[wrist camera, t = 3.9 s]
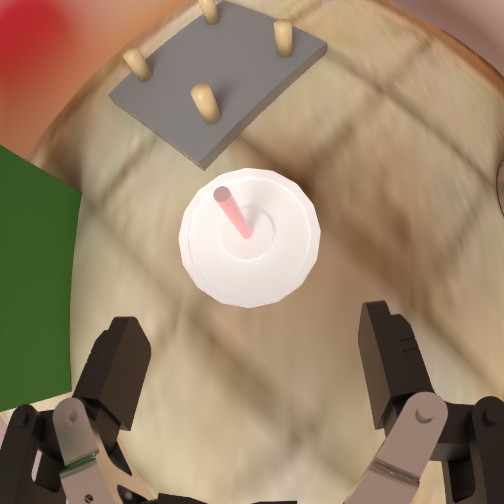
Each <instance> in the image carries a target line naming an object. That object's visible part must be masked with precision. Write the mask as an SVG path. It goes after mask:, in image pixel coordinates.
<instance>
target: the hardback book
mask: <svg viewBox="0 0 504 504" xmlns="http://www.w3.org/2000/svg"><path fill="white" fill-rule="evenodd" d="M81 195H82V193H81V192H80V191H78V190H76V189H74V188H73V187H71V186H69V185H67V184H66V183H64V182H62V181H60V180H59V179H57V178H55V177H54V176H52V175H50V174H48V173H47V172H45V171H43V170H42V169H40V168H38V167H36V166H35V165H33V164H31V163H30V162H28V161H26V160H25V159H23V158H21V157H20V156H18V155H16V154H14V153H13V152H11V151H10V150H8V149H6V148H5V147H3V146H1V145H0V412H2V411H6V410H9V409H13V408H17V407H19V406H21V405H23V404H31V403H35V402H38V401H42V400H45V399H48V398H52V397H55V396H58V395H62V394H65V393H68V392H71V391H72V389H71V373H70V294H71V277H72V264H73V254H74V244H75V235H76V228H77V220H78V213H79V207H80V201H81Z"/></svg>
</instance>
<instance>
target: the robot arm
mask: <svg viewBox="0 0 504 504" xmlns="http://www.w3.org/2000/svg"><path fill="white" fill-rule="evenodd" d="M497 189H498V196H499V201H500V205H501V208H502V211H503V214H504V161H503V162H502V163H501V166H500V168H499V172H498V177H497ZM358 343H359V350H360V354H361V359H362V363H363V368H364V373H365V378H366V383H367V388H368V393H369V398H370V404H371V409H372V415H373V420H374V426H375V430H376V429H381V428H384V430H385V436H386V438H385V440H384V442H383V444H382V445H381V447H380V449H379V450H378V452H377V454H376V455H375V457H374V458H373V460H372V462H371V463H370V465H369V466H368V468H367V469H366V471H365V472H364V474H363V476H362V477H361V479H360V480H359V481H358V483H357V484H356V486H355V487H354V489H353V490H352V491H351V493H350V494H349V495H348V497H347V498H346V500H345V501H344V502H343V504H410V503H411V501H412V499H413V497H414V496H415V494H416V492H417V490H418V487H419V484H420V482H419V480H420V477H421V475H422V473H423V471H424V469H425V467H426V465H427V463H428V461H429V460H431V461H441V462H442V469H443V477H444V485H445V494H446V504H504V402H503V401H502V400H500V399H499V398H497V397H493V396H488V397H484V398H482V399H480V400H479V401H478V402H477V403H476V404H475V405H465V404H452V403H448V402H446V401H444V400H443V399H442V398H441V397H440V396H438V395H437V394H436V393H435V392H434V390H433V388H432V385H431V382H430V379H429V376H428V373H427V370H426V367H425V364H424V361H423V358H422V355H421V352H420V350H419V347H418V344H417V341H416V340H415V336H414V333H413V331H412V328H411V325H410V324H409V323H408V322H407V320H406V319H405V318H404V317H403V316H402V315H401V314H396V315H391V314H390V311H389V309H388V306H387V303H386V302H385V301H375V302H367V303H363V305H362V311H361V318H360V325H359V331H358ZM150 358H151V346H150V343H149V341H148V339H147V337H146V335H145V333H144V332H143V330H142V328H141V326H140V324H139V322H138V320H137V319H136V318H135V317H115V318H114V319H113V320H112V322H111V325H110V327H109V329H108V330H104V332H103V333H102V334H101V335H100V336H99V337H98V338H97V339H96V341H95V343H94V345H93V348H92V350H91V354H90V355H89V357H88V359H87V363H86V364H85V366H84V369H83V371H82V374H81V376H80V379H79V381H78V384H77V386H76V389H75V391H74V394H73V396H72V398H67V399H64V400H63V401H61V402H60V403H59V404H58V405H57V406H56V408H55V409H54V410H47V411H40V412H38V411H37V410H36V409H35V408H34V407H33V406H31V405H29V404H23V405H21V406H19V407H18V408H16V409H15V411H14V412H13V414H12V416H11V419H10V422H9V425H8V428H7V431H6V434H5V437H4V440H3V443H2V446H1V449H0V504H66V499H67V500H68V502H69V504H207V503H204V502H201V501H199V500H196V499H193V498H190V497H182V496H175V495H168V494H162V493H159V494H158V499H154V497H153V495H152V494H151V492H150V491H149V489H148V488H147V487H146V486H145V485H144V484H143V482H142V481H141V480H140V479H139V477H138V476H137V474H136V472H135V470H134V468H133V466H132V464H131V462H130V460H129V457H128V455H127V453H126V451H125V449H124V447H123V444H122V442H121V440H120V438H119V437H118V433H119V430H126V431H130V430H131V426H132V423H133V419H134V415H135V411H136V407H137V404H138V400H139V396H140V393H141V389H142V386H143V382H144V379H145V375H146V372H147V368H148V365H149V361H150ZM37 450H39V451H40V452H42V456H41V460H40V463H39V467H38V472H37V476H36V480H35V482H34V481H33V480H32V476H31V473H32V469H33V465H34V461H35V457H36V454H37ZM252 504H297V501H275V502H257V503H252Z"/></svg>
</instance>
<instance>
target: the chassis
mask: <svg viewBox="0 0 504 504" xmlns="http://www.w3.org/2000/svg"><path fill="white" fill-rule="evenodd" d="M199 3H200V6H201V9H202V12H203V14H202V15H201V16H200V17H198V18H197V19H195V20H194V21H193V22H191V23H190V24H189V25H187V26H186V27H185V28H183V29H182V30H181V31H179V32H178V33H177V34H176V35H174V36H173V37H172V38H171V39H169V40H168V41H167V42H166V43H164V44H163V45H162V46H161V47H160V48H158V49H157V50H156V51H155V52H154V53H153V54H151V55H150V56H149V57H148V58H147V59H146V60H144V58H143V57H142V55H141V54H140V52H139V50H138V49H137V48H131V49H129V50H127V51H126V52H125V53H124V55H123V58H124V59H125V61H126V62H127V63H128V65H129V66H130V68H131V69H132V72H131V73H130V74H129V75H128V76H127V77H126V78H125V79H124V80H123V81H122V82H121V83H120V84H119V85H118V86H117V87H116V88H115V89H114V90H113V91H112V92H111V93H110V94H109V95H108V96H109V97H110V98H111V99H112V100H113V101H114V103H115V104H117V105H118V106H119V107H121V108H122V109H124V110H125V111H126V112H128V113H129V114H130V115H132V116H133V117H134V118H136V119H137V120H138V121H140V122H141V123H142V124H144V125H145V126H146V127H148V128H149V129H150V130H152V131H153V132H154V133H156V134H157V135H158V136H160V137H161V138H162V139H164V140H165V141H166V142H167V143H169V144H170V145H171V146H173V147H174V148H175V149H177V150H178V151H179V152H181V153H182V154H183V155H184V156H186V157H187V158H188V159H190V160H191V161H192V162H193V163H195V164H196V165H197V166H199V167H200V168H201V169H202V170H205V169H206V168H207V167H208V166H209V165H210V164H211V163H212V162H213V161H214V160H215V159H216V158H217V157H218V155H219V154H220V153H221V152H222V151H223V150H224V149H225V148H226V147H227V146H228V145H229V144H230V143H231V142H232V141H233V140H234V139H235V138H236V137H237V136H238V135H239V134H240V133H241V132H242V131H243V130H244V129H245V128H246V127H247V126H248V125H249V124H250V123H251V122H252V121H253V120H254V119H255V118H256V117H257V116H258V115H259V114H260V113H261V112H262V111H263V110H264V109H265V108H266V107H267V106H268V105H269V104H270V103H271V102H272V101H274V100H275V99H276V98H277V97H278V96H279V95H280V94H281V93H282V92H283V91H284V90H285V89H286V88H287V87H289V86H290V85H291V84H292V83H293V82H294V81H295V80H296V79H297V78H298V77H299V76H301V75H302V74H303V73H304V72H305V71H306V70H307V69H308V68H310V67H311V66H312V65H313V64H314V63H315V62H316V61H318V60H319V59H320V58H321V57H322V56H323V55H325V54H326V45H327V43H326V42H324V41H322V40H320V39H318V38H316V37H314V36H312V35H310V34H308V33H306V32H304V31H302V30H299V29H297V28H295V27H293V26H292V23H291V22H290V21H289V20H286V19H279V20H276V19H274V18H271V17H269V16H266V15H264V14H261V13H259V12H256V11H253V10H251V9H248V8H245V7H242V6H239V5H236V4H233V3H230V2H227V1H224V0H223V1H221V2H220V3H218V4H217V5H215V1H214V0H199Z"/></svg>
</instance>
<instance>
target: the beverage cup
mask: <svg viewBox="0 0 504 504" xmlns="http://www.w3.org/2000/svg"><path fill="white" fill-rule="evenodd" d="M320 233H321V231H320V227H319V223H318V219H317V216H316V212H315V209H314V205H313V204H312V202H311V201H310V200H309V199H308V197H307V196H306V195H305V194H304V192H303V191H302V190H301V189H300V187H299V186H298V185H297V184H296V183H294V182H292V181H291V180H289V179H287V178H285V177H283V176H281V175H280V174H278V173H276V172H274V171H269V170H261V169H252V168H244V169H240V170H236V171H233V172H229V173H225V174H221V175H220V176H218V177H217V178H215V179H214V180H212V181H211V182H210V183H208V184H207V185H205V186H204V187H203V188H201V189H200V190H199V191H198V192H197V194H196V195H195V197H194V198H193V200H192V201H191V203H190V204H189V206H188V207H187V209H186V210H185V212H184V215H183V220H182V224H181V229H180V233H179V244H180V250H181V256H182V262H183V265H184V267H185V268H186V270H187V272H188V273H189V275H190V276H191V278H192V279H193V281H194V283H195V284H196V286H197V287H198V288H199V289H201V290H202V291H204V292H205V293H207V294H208V295H210V296H211V297H213V298H214V299H216V300H217V301H219V302H220V303H224V304H229V305H234V306H240V307H245V308H253V307H257V306H262V305H266V304H271V303H275V302H278V301H280V300H281V299H283V298H284V297H285V296H287V295H288V294H290V293H291V292H292V291H294V290H295V289H297V288H298V287H299V286H301V285H302V283H303V282H304V280H305V278H306V277H307V275H308V273H309V272H310V270H311V269H312V267H313V265H314V264H315V262H316V260H317V255H318V248H319V241H320Z"/></svg>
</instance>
